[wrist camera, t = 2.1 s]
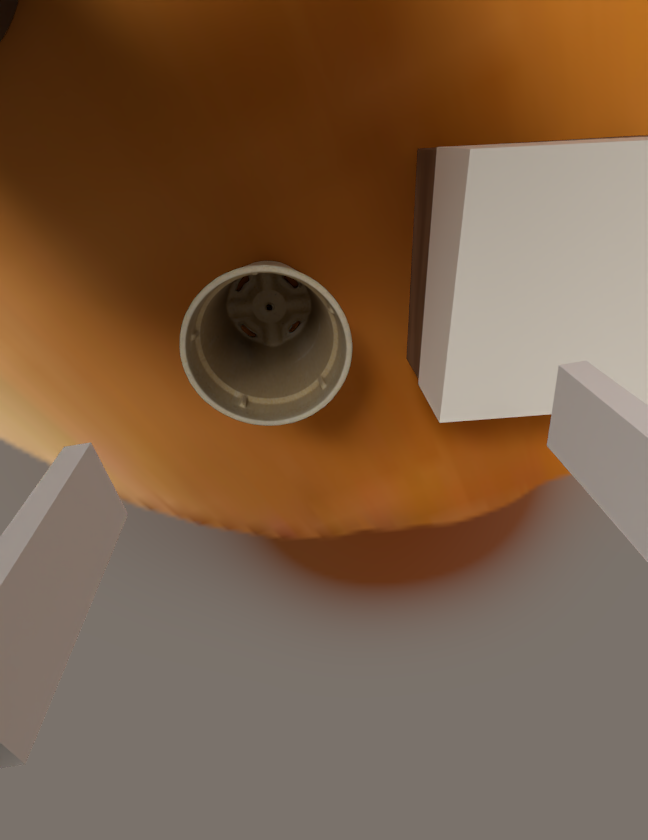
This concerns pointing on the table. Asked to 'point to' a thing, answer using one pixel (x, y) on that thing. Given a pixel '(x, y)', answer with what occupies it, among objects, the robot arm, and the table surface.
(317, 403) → the flower pot
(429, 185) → the tower base
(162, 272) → the table surface
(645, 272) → the tower top
